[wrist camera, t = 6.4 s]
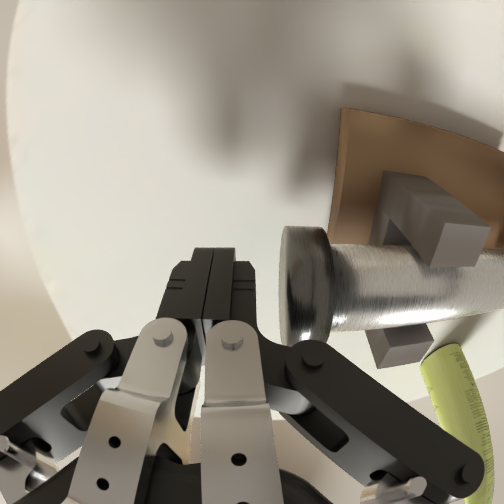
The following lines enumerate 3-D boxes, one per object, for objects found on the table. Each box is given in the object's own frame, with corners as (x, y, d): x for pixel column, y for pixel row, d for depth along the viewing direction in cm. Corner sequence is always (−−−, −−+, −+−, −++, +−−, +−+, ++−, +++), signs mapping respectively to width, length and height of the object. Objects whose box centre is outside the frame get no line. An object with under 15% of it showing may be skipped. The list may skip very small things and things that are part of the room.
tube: (407, 376, 22) (443, 539, 6) (425, 348, 20) (476, 535, 3) (447, 365, 22) (490, 511, 6) (467, 336, 19) (524, 499, 3)
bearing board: (341, 107, 10) (442, 140, 4) (551, 176, 10) (607, 221, 4) (312, 313, 17) (331, 418, 11) (505, 294, 16) (541, 349, 10)
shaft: (282, 198, 10) (300, 278, 6) (541, 225, 10) (580, 264, 6) (276, 293, 13) (283, 381, 9) (517, 279, 13) (548, 321, 9)
